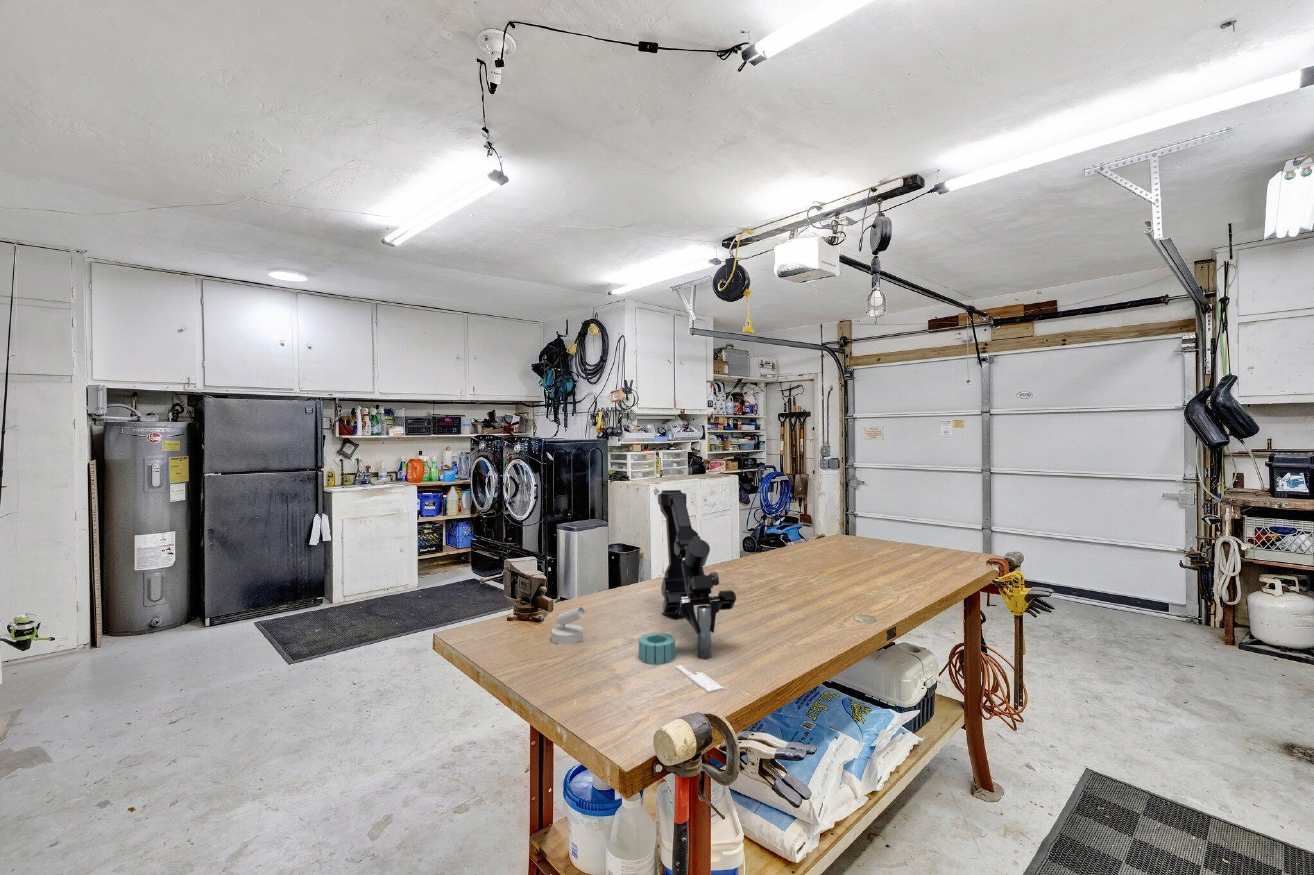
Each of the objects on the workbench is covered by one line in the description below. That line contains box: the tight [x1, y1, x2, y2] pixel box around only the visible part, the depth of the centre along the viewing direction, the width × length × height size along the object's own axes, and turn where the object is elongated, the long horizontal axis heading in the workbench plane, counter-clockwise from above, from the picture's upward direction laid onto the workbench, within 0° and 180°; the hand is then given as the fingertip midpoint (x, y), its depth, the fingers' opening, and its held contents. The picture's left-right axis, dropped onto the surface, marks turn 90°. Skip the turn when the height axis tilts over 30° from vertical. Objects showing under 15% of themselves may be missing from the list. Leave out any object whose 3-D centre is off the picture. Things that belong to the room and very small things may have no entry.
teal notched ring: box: [638, 632, 676, 665], centre depth 140 cm, size 9×9×4 cm
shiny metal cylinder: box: [696, 605, 712, 660], centre depth 140 cm, size 4×4×12 cm
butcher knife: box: [675, 664, 725, 694], centre depth 128 cm, size 5×15×1 cm, turn 27°
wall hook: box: [551, 606, 586, 645], centre depth 153 cm, size 9×10×10 cm
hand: (705, 632), depth 139 cm, fingers closed on shiny metal cylinder, 3 cm apart
